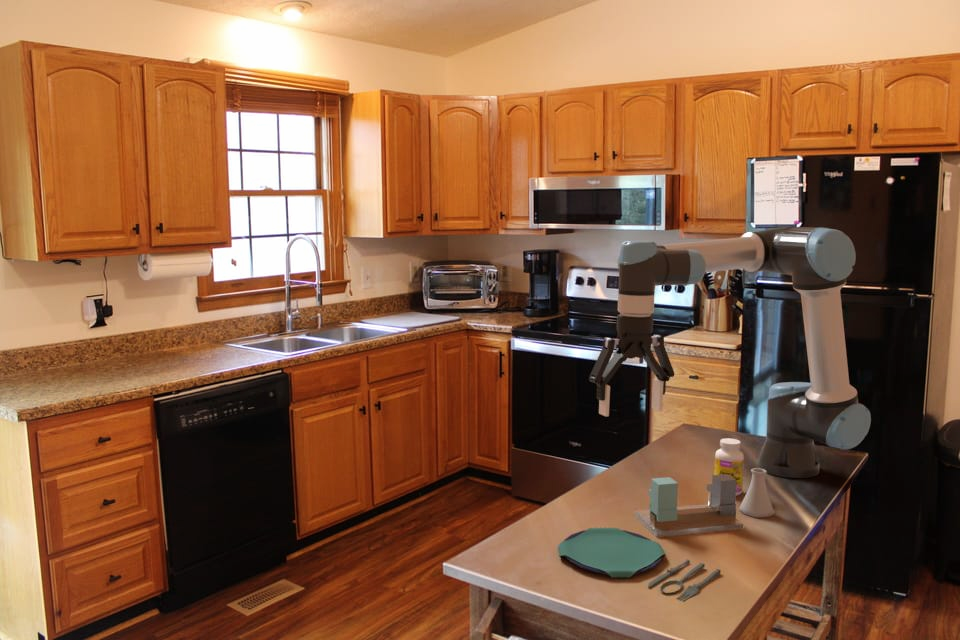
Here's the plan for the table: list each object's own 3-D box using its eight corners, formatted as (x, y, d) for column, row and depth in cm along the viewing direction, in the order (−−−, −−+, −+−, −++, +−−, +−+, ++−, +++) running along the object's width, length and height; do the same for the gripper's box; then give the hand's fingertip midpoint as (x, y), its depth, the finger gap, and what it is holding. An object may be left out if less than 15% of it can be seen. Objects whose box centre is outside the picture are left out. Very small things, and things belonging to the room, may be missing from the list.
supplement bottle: (713, 495, 194) (716, 444, 192) (712, 486, 200) (715, 436, 198) (743, 498, 192) (745, 446, 190) (741, 488, 199) (743, 438, 197)
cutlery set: (599, 528, 175) (599, 518, 175) (728, 575, 155) (728, 563, 154) (540, 558, 161) (540, 547, 161) (674, 614, 141) (674, 602, 140)
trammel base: (715, 508, 186) (717, 464, 184) (743, 529, 174) (745, 481, 173) (634, 515, 182) (635, 470, 180) (656, 537, 170) (658, 489, 169)
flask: (733, 508, 186) (735, 467, 184) (758, 504, 188) (761, 463, 187) (754, 520, 179) (756, 477, 178) (780, 516, 182) (783, 473, 180)
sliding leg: (660, 510, 181) (661, 470, 179) (677, 525, 172) (678, 483, 171) (641, 512, 180) (642, 471, 178) (657, 527, 171) (659, 485, 170)
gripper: (672, 309, 179) (667, 403, 182) (575, 314, 169) (571, 412, 172) (694, 314, 172) (688, 411, 175) (594, 318, 162) (590, 421, 165)
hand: (630, 412), depth 174 cm, fingers open, 13 cm apart
